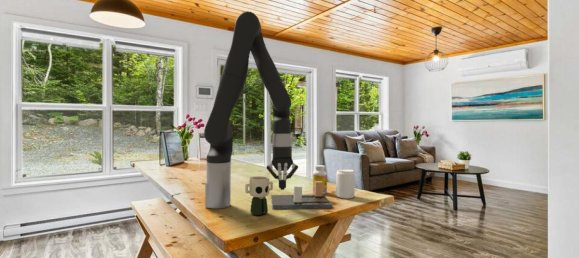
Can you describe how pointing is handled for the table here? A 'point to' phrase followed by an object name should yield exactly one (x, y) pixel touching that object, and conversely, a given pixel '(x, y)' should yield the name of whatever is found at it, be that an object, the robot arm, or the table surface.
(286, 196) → the board
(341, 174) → the beverage can
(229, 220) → the table surface
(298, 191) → the block
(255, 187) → the character mug
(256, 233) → the table surface
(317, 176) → the supplement bottle
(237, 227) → the table surface
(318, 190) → the terracotta fader
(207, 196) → the robot arm
